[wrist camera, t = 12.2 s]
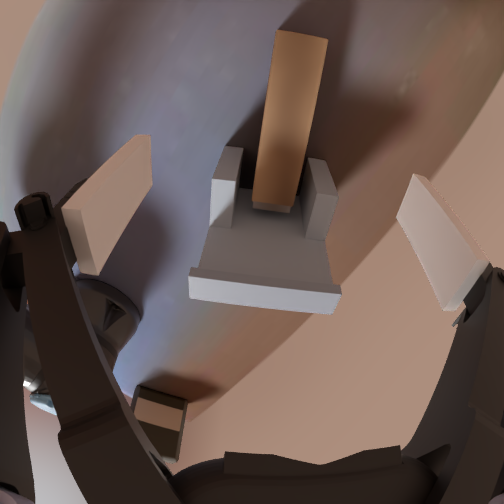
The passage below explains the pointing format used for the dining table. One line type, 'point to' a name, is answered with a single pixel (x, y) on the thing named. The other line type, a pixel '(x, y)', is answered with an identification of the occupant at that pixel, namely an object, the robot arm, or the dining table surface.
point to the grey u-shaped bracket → (267, 244)
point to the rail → (287, 118)
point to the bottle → (160, 420)
